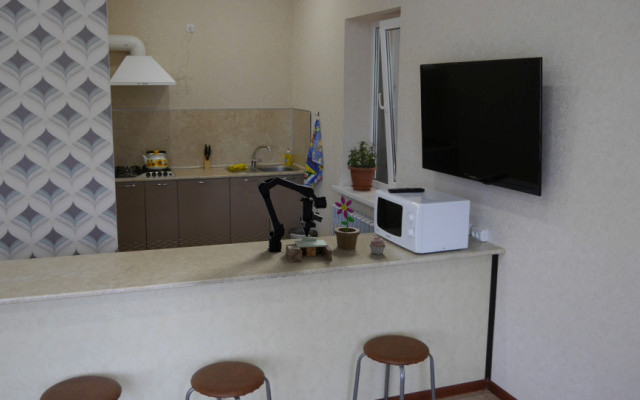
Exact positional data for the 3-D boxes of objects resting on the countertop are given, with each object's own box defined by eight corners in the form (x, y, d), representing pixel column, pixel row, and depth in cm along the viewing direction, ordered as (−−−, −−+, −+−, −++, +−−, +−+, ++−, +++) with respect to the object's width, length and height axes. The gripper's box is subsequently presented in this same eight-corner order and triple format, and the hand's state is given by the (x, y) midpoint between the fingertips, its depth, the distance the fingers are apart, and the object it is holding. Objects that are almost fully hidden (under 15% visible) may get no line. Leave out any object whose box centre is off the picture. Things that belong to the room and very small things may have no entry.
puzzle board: (290, 262, 300) (290, 251, 299) (284, 252, 317) (284, 242, 316) (331, 260, 305) (332, 250, 304) (324, 250, 322) (324, 240, 321)
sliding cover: (297, 247, 307) (297, 243, 306) (294, 242, 316) (294, 238, 316) (327, 246, 310) (327, 242, 310) (323, 241, 320) (323, 237, 319)
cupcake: (381, 256, 314) (382, 238, 312) (365, 254, 319) (366, 236, 317) (388, 252, 322) (389, 235, 320) (373, 250, 327) (373, 232, 325)
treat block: (307, 256, 312) (307, 247, 311) (305, 253, 316) (305, 244, 315) (315, 255, 313) (315, 246, 312) (313, 253, 317) (313, 244, 316)
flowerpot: (328, 247, 328) (330, 195, 322) (342, 242, 340) (344, 191, 334) (350, 252, 320) (352, 199, 314) (363, 247, 332) (366, 195, 326)
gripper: (325, 212, 313) (324, 240, 316) (318, 205, 331) (317, 231, 334) (305, 212, 311) (304, 241, 314) (298, 205, 329) (298, 232, 332)
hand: (306, 236), depth 324 cm, fingers closed
